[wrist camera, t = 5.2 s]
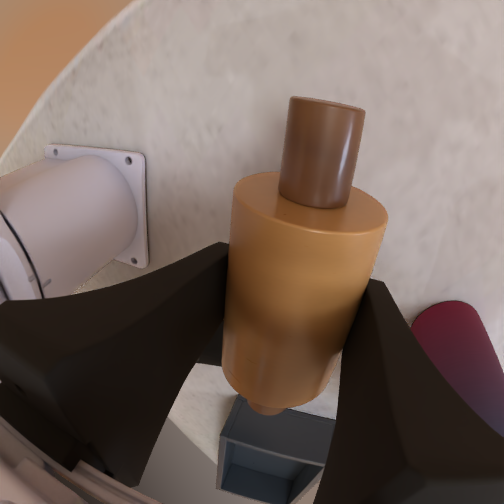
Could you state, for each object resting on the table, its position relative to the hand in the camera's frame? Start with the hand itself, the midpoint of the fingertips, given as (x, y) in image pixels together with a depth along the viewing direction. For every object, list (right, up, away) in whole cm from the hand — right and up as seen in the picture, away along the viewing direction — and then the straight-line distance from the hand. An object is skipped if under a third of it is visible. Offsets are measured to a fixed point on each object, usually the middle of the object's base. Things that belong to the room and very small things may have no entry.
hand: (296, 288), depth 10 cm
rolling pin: (+1, +1, +1) cm, 2 cm away
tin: (+1, -19, +19) cm, 27 cm away
